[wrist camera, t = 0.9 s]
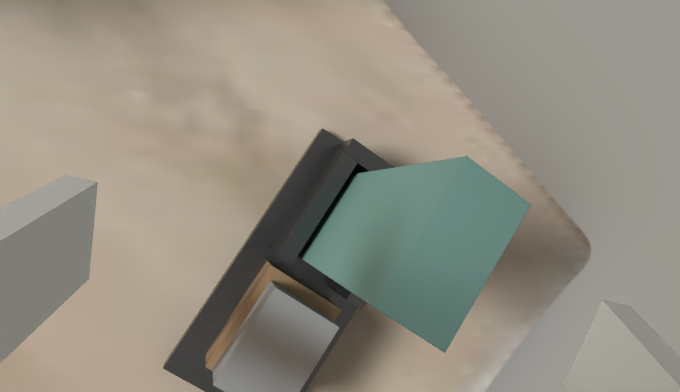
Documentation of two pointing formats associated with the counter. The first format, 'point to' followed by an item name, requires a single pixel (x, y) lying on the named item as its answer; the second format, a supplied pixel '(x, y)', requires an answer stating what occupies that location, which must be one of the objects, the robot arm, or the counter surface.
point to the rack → (280, 252)
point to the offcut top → (275, 345)
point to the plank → (417, 241)
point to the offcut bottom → (251, 298)
